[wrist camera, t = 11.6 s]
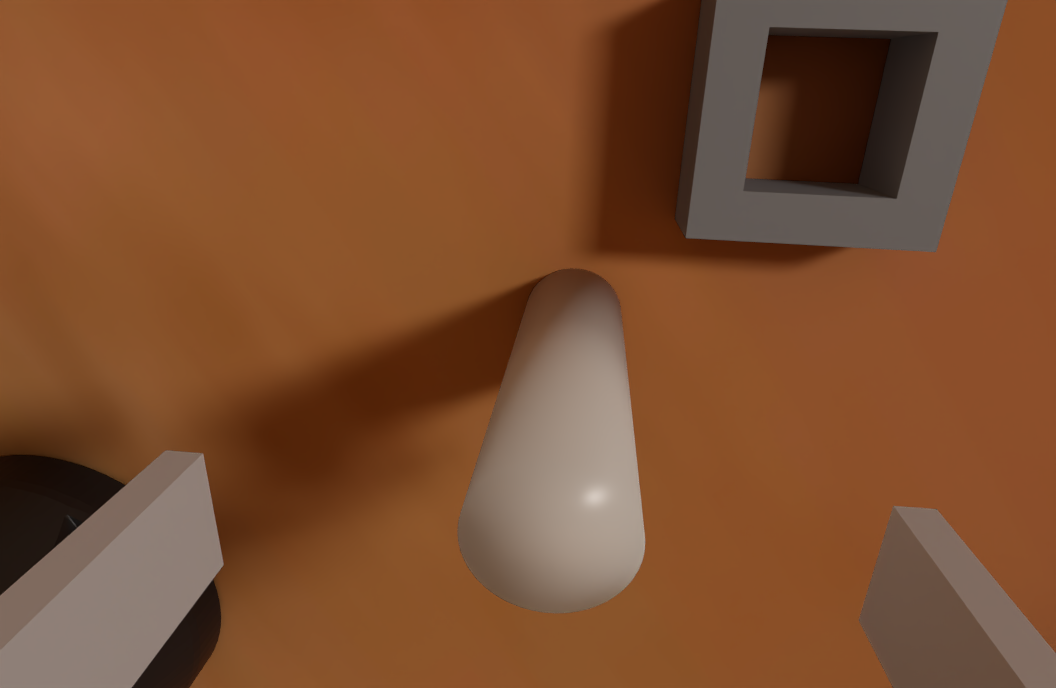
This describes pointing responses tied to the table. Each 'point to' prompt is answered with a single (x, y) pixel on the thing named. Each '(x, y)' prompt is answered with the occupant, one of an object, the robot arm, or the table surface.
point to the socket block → (895, 136)
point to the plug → (559, 458)
